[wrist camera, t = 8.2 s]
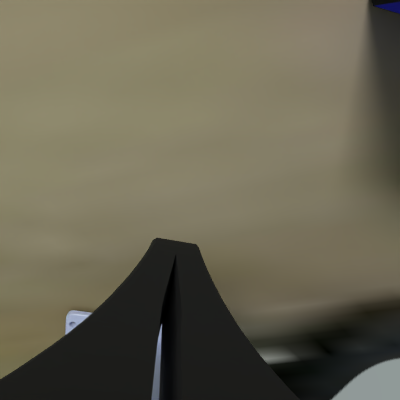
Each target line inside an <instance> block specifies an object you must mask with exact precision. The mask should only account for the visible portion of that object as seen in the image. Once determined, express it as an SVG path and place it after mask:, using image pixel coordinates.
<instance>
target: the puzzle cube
mask: <svg viewBox="0 0 400 400" xmlns="http://www.w3.org/2000/svg"><path fill="white" fill-rule="evenodd" d="M372 3H373V6H376V7H379V8H382V9H386V10H389V11H392V12H396V13H399V14H400V0H372Z"/></svg>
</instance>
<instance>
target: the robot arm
mask: <svg viewBox="0 0 400 400" xmlns="http://www.w3.org/2000/svg"><path fill="white" fill-rule="evenodd" d="M73 322H75V323H73ZM0 400H300V399H299V398H298V397H297V396H296V395H295V394H294V393H293V392H292V391H291V390H290V389H289V388H288V387H287V386H286V385H285V384H284V383H283V381H282V380H281V379H280V378H279V377H278V376H277V375H276V373H275V372H274V371H273V370H272V369H271V368H270V367H269V365H268V364H267V363H266V362H265V361H264V360H263V358H262V357H261V356H260V355H259V353H258V352H257V351H256V350H255V348H254V347H253V346H252V344H251V343H250V342H249V340H248V339H247V338H246V336H245V335H244V333H243V332H242V331H241V329H240V328H239V326H238V325H237V323H236V322H235V320H234V318H233V317H232V315H231V314H230V312H229V310H228V309H227V307H226V305H225V304H224V302H223V300H222V298H221V296H220V295H219V293H218V291H217V289H216V287H215V285H214V283H213V281H212V279H211V277H210V275H209V272H208V270H207V268H206V266H205V263H204V261H203V258H202V256H201V253H200V250H199V247H198V246H197V245H196V244H191V243H185V242H179V241H173V240H167V239H161V238H156V239H154V240H153V241H152V243H151V245H150V247H149V249H148V250H147V252H146V254H145V255H144V256H143V258H142V259H141V261H140V262H139V263H138V265H137V266H136V267H135V268H134V270H133V271H132V272H131V273H130V275H129V276H128V277H127V278H126V279H125V281H124V282H123V283H122V284H121V285H120V286H119V287H118V288H117V289H116V290H115V291H114V292H113V294H112V295H111V296H110V297H109V298H108V299H107V300H106V301H105V302H104V303H103V304H101V305H100V306H99V307H98V308H97V309H96V310H95V311H94V312H93V313H90V312H83V311H76V310H72V311H70V312H68V314H67V317H66V335H65V336H64V337H62V338H61V339H60V340H58V341H57V342H56V343H54V344H53V345H52V346H50V347H49V348H47V349H46V350H44V351H43V352H41V353H40V354H38V355H37V356H35V357H34V358H32V359H31V360H29V361H28V362H27V363H25V364H24V365H22V366H21V367H19V368H18V369H16V370H15V371H13V372H11V373H10V374H8V375H7V376H5V377H3V378H2V379H0Z"/></svg>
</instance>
